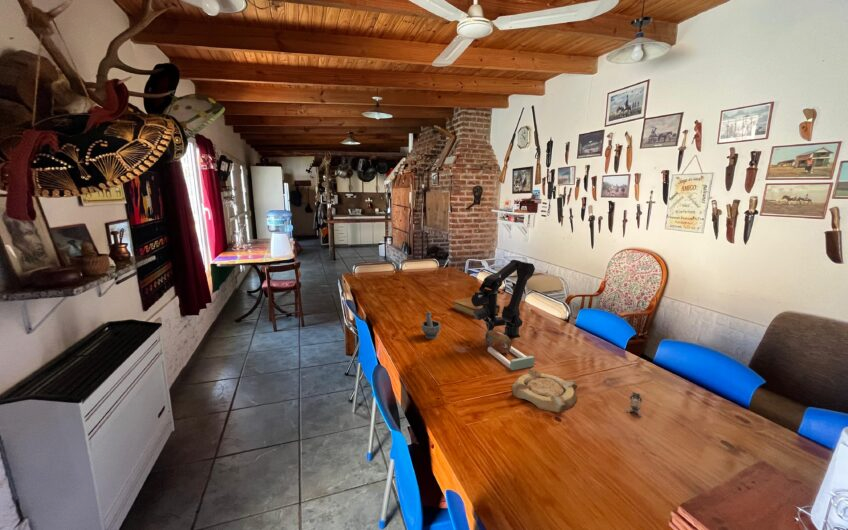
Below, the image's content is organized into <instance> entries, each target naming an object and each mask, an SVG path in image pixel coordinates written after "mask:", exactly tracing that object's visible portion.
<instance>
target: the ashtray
mask: <svg viewBox="0 0 848 530" xmlns="http://www.w3.org/2000/svg"><path fill="white" fill-rule="evenodd" d="M578 387H579V386H578V384H577V383H576V381H574V380H573V379H570V380H567V381H566V380H564V379H563V378H560V377H558V376H555V375H553V374H549V373H548V374H547V373H541V372H539V371H538V370H536V369H532V368H529V369H528V373H525V374H522V375H521V376H519V377H518V378H516V380H515V382H514V383H513V384H512V387H511V390H512V391H511V392H512V395H513V396H514V397H516V398H517V399H523V400H527V401H529V402H531V403H533V405H535V406H536V408H539V409H541V410H546V411H551V412H557V413H562V412H565V411H566V410H567V409H570V408H572V407H574V406H575V405H576V403H577V402H578V395H577V393H576V391H577V388H578Z"/></svg>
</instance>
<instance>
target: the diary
mask: <svg viewBox="0 0 848 530" xmlns="http://www.w3.org/2000/svg"><path fill="white" fill-rule="evenodd" d="M471 298H472V296H470V297H466V298H461V299H460V298H459V299H457V300H453V301H452V303H454V307H453V308H452V309H454V310H455V311H457V312H460V313H462V314H466V315H467V316H471V317H474V318H475V316H474V313H473V312H474V311H475V310H477V309H479V308H482V306H478V307H475V306H474V305H473V304H472V301H471ZM497 305H498V308H497V311H496V313H498V314H500V313H501V306H500V304H498V303H497Z"/></svg>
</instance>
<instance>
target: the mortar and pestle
mask: <svg viewBox="0 0 848 530" xmlns="http://www.w3.org/2000/svg"><path fill="white" fill-rule="evenodd" d="M431 314H432V312H431V311H427V312H425V315H426V318H425V319H426V321H422V323H421V331H422V332H423V333H424V337H425V338H426V339H429V340H435V339H437V338H438V334H439V333H440V330H441V326H442V324H441V323H440V321H436V320H432V315H431Z"/></svg>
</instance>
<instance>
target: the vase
mask: <svg viewBox="0 0 848 530" xmlns="http://www.w3.org/2000/svg"><path fill="white" fill-rule="evenodd" d="M642 401H643V399H642V397H641V394H640V393H636V392H634V391H633V392H632V393H631V395H630V397H629V407H630V408H631V410H629V409H624V410H623V411H624V412H628V413H629V414H631V413H636V414H637V416H638V417H642V416H643V415H642V414H643V413H641V414H640V412H639V411H640V409H641V408H642Z"/></svg>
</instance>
